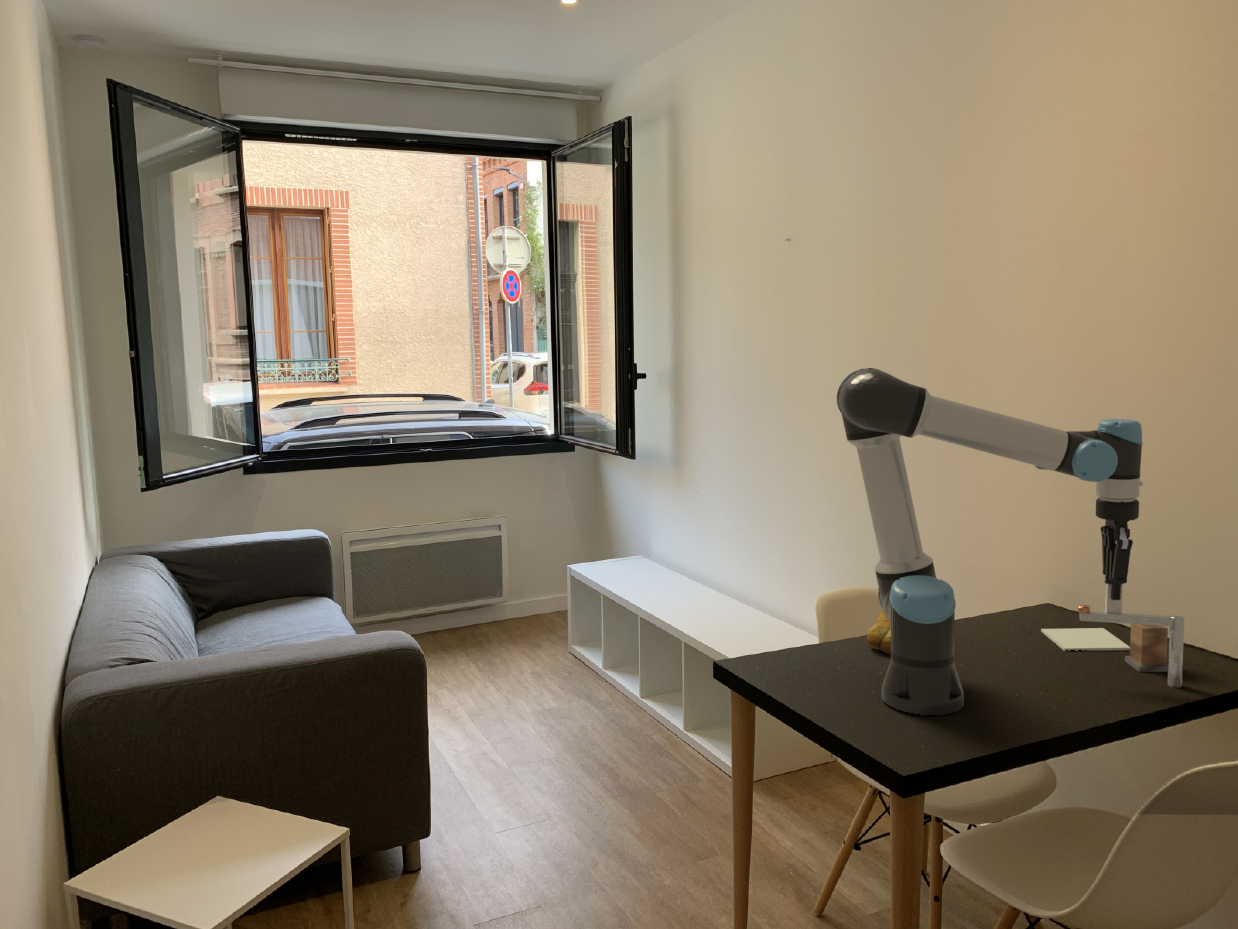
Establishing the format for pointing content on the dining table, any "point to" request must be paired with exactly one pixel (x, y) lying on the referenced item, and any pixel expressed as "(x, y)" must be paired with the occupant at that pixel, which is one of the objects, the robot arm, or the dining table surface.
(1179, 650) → the grey l-shaped handle
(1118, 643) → the sage mat
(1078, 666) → the dining table surface
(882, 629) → the bread roll
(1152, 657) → the brown boxy piece
